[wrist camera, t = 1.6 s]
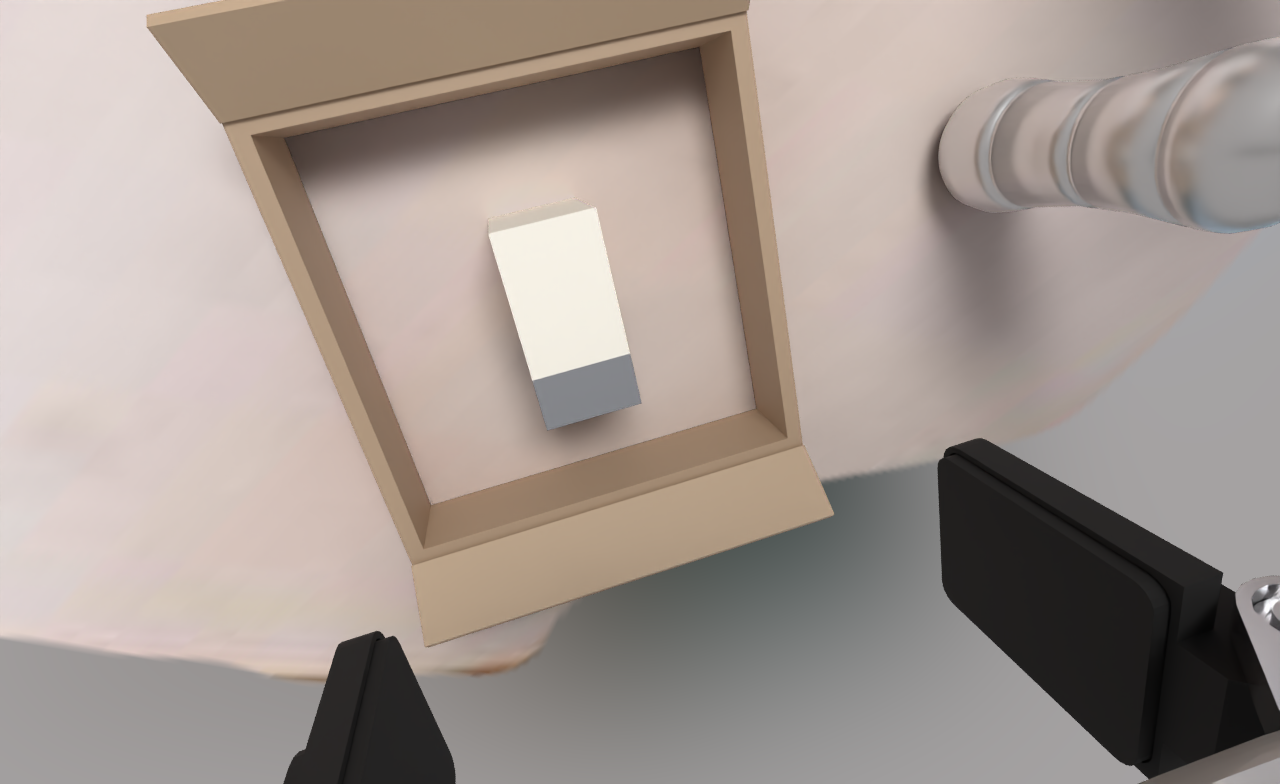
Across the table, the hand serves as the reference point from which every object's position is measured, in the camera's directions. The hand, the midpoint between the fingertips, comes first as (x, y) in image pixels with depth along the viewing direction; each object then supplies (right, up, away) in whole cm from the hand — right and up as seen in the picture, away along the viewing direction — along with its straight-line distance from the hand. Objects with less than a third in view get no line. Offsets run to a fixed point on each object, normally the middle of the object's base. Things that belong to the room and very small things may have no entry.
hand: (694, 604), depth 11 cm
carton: (-5, +9, +24) cm, 26 cm away
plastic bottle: (+18, +17, +26) cm, 36 cm away
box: (-5, +9, +24) cm, 26 cm away
